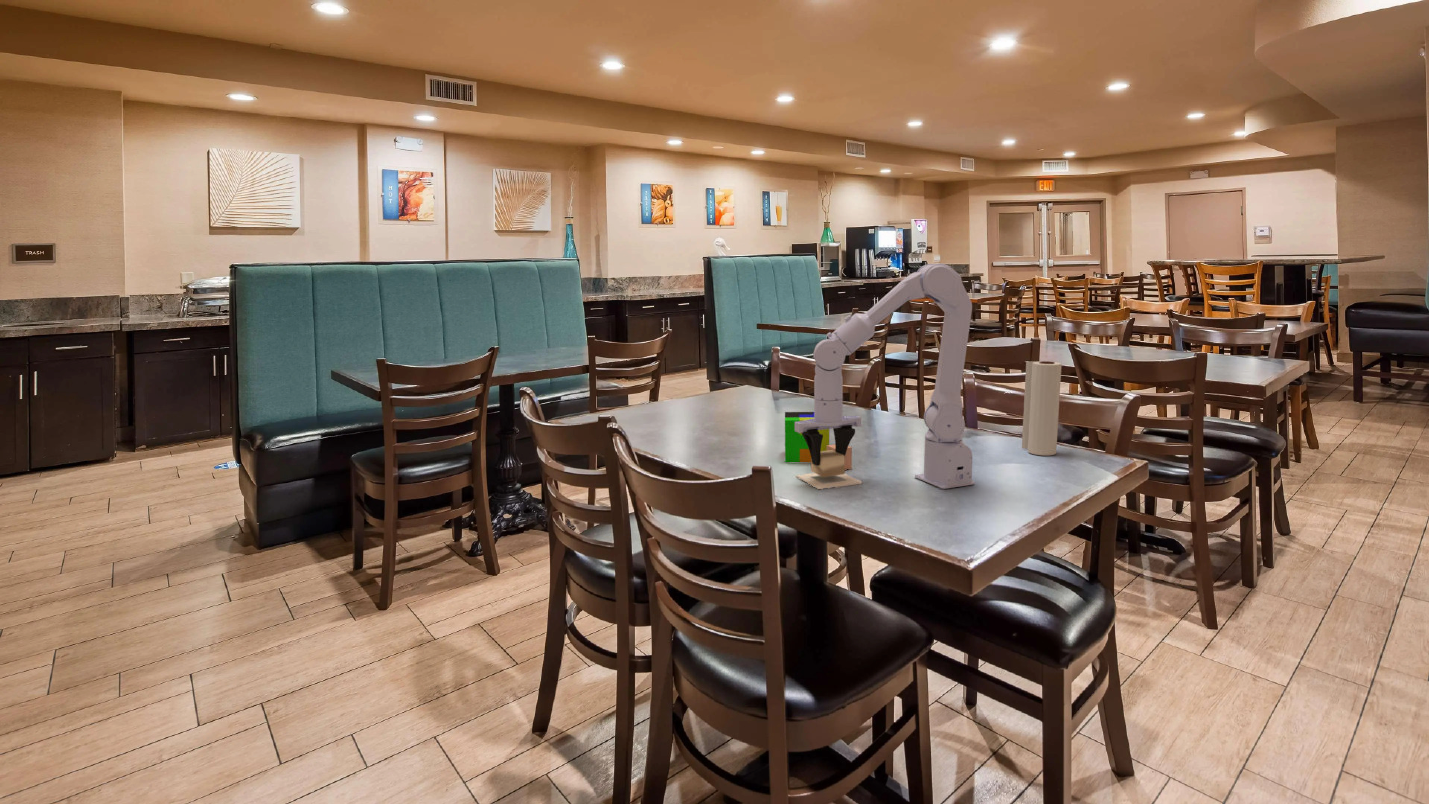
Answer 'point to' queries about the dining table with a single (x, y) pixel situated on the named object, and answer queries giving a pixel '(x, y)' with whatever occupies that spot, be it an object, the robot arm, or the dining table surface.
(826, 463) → the maple block
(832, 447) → the terracotta block
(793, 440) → the puzzle toy
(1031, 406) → the paper towel roll
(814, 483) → the square frame
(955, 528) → the dining table surface
